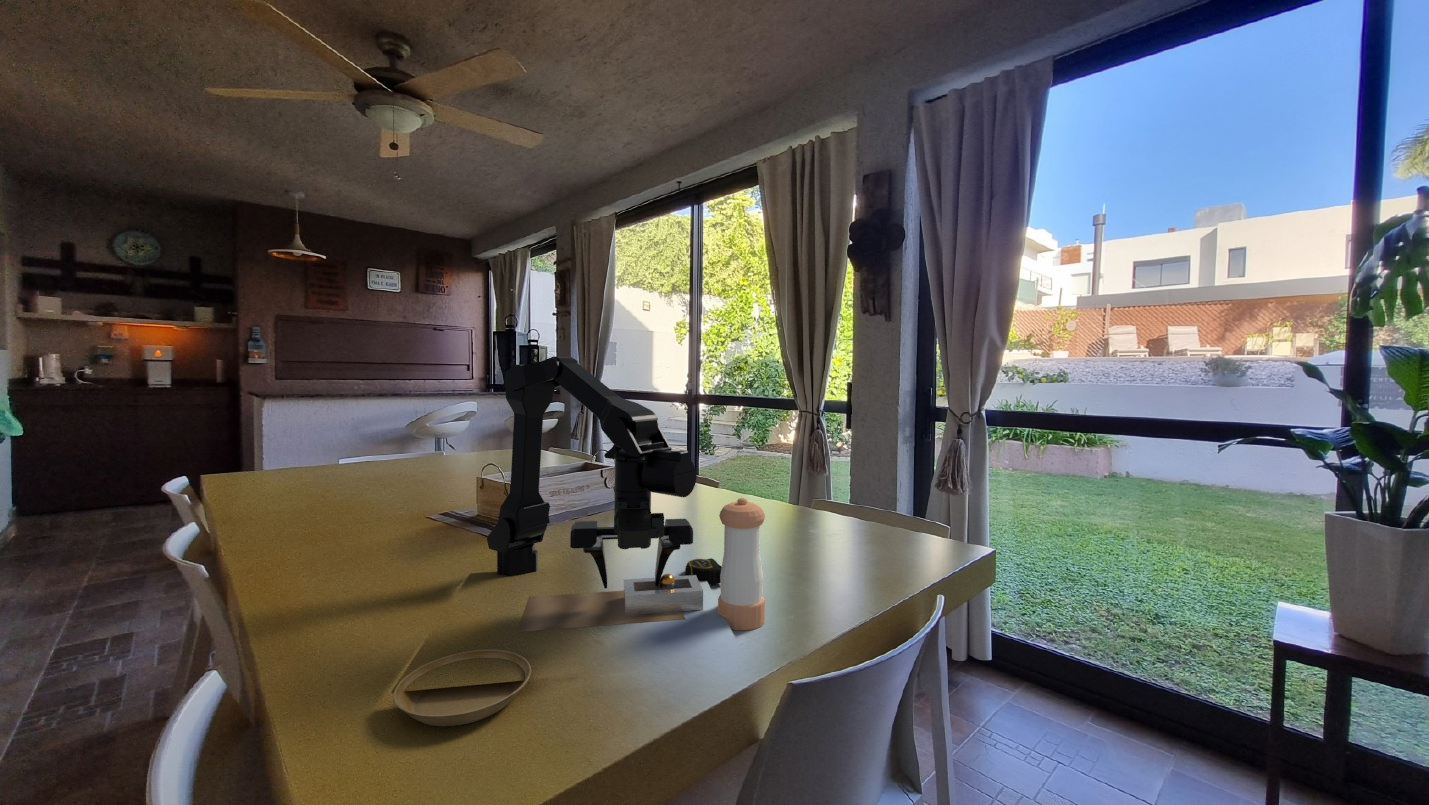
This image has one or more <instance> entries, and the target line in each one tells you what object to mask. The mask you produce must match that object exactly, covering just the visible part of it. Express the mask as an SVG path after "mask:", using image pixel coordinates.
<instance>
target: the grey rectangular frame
mask: <svg viewBox="0 0 1429 805" xmlns="http://www.w3.org/2000/svg"><path fill="white" fill-rule="evenodd" d="M672 576H673V577H674V579H675V589H665V590H660V582H659V585H658V586H655V577H645V578H631V579H629V578H627V579H625V578H624V579H623V591H624V607H625V615H635V614H649V613H662V612H676V611H683V612H688V611H700V610H704V589H703V588H702V586H701V582H700V581H698V579H697V576H696V575H689V576H686V575H675V576H674V575H672Z"/></svg>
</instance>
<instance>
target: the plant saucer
mask: <svg viewBox="0 0 1429 805" xmlns="http://www.w3.org/2000/svg"><path fill="white" fill-rule="evenodd" d="M479 658H482V659H483V658H492V659H495V658H496V659H502V660H506V661H507V660H508V661H511V662H513V663H514V664H517V665H518V666H520V668H521V669H522V670H523V672H524V680H512V681H504V682H501V681H500V682H493V683H481V684H470V685H459V686H448V687H437V688H427V689H415V690H406V688H408V686H409V685H410V684H411V683H413V682H414V681H415V680H416V679H419V677H421V676H422V675H424V674H426V673H429V672H430V671H432V670H434V669H437V668H440V667H443V666H444V665H448V664H452V663H455V662H460V661H465V660H471V659H479ZM531 674H532V667H531V664H530V662H529V661H528V660H527V659H526V658H525V657H524V656H523V655H520V654H519V653H516V652H512V651H509V650H502V649H476V650H474V649H473V650H468V651H463V652H458V653H454V654H453V653H452V654H449V655H446V656H442V657H440V658H437V659H434V660H432V661H429V662H427V663H425V664H423V665H421V666H419V667H417V668H416V669H414V670H412V671H411V672H409V673H408V674H407V675H406V676H405V677H403V678H402V679H401V680H400V681H399V683H398V684H397V686H396V687H395V688H394V691H393V702H394V703H395V705H396V706H397V707H398V708H399V709H400V710H401V711H402V712H404V714H406V715H407V716H409V717H411V719H414V720H416V721H418V722H421V723H422V724H425V725H429V726H433V727H434V726H435V727H455V726H456V725H457V726H463V725H467V724H471V723H475V722H478V721H481V720H484V719H486V718H488V717H490V716H492V715H494V714H496V713H498V712H499V711H501V710H502V709H503V708H505V707H506V706H507V705H508V704H510V702H512V701H513V699H514V698H515V697H517V695H518V694H519V693H520V692H521V691H522V689H523V688H524V687H525V685H526V684H527V683H528V681H529V679H530V677H531Z"/></svg>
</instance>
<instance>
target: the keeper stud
mask: <svg viewBox="0 0 1429 805" xmlns="http://www.w3.org/2000/svg"><path fill="white" fill-rule="evenodd" d="M673 576H674V575H672V574H671V573H664V574H662V576H661V579H660V590H665V589H675V579H674V577H673Z"/></svg>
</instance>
